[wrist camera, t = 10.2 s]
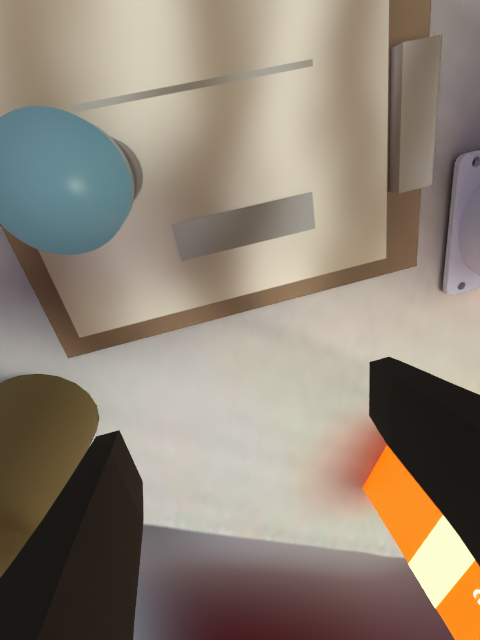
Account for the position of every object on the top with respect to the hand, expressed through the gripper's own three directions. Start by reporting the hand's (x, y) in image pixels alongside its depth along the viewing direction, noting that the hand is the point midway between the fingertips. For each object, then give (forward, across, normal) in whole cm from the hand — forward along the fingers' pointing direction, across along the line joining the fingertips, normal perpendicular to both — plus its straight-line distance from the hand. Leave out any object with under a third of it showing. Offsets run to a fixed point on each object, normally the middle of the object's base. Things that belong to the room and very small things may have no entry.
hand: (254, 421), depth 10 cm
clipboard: (+10, -2, -6) cm, 12 cm away
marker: (+9, +3, -7) cm, 12 cm away
